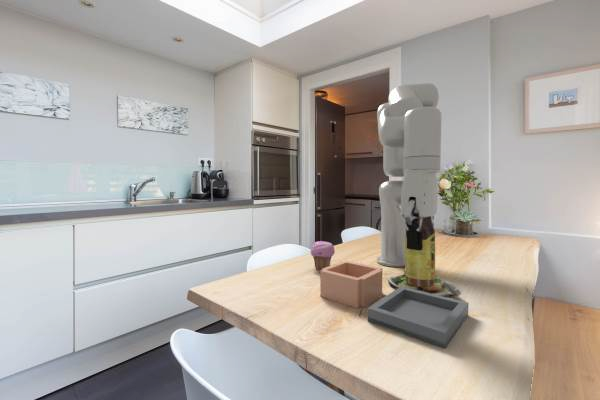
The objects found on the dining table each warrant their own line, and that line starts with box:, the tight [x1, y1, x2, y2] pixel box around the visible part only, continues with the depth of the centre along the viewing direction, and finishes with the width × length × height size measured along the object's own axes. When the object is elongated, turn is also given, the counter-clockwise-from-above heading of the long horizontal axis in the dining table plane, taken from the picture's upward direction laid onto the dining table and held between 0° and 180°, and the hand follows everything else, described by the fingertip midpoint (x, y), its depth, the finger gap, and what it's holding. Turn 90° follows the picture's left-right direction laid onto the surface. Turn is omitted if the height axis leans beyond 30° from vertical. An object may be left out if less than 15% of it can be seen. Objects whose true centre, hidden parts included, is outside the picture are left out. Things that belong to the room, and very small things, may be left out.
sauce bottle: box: [404, 214, 436, 288], centre depth 64 cm, size 7×6×20 cm
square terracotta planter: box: [319, 260, 383, 309], centre depth 79 cm, size 13×13×7 cm
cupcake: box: [310, 240, 336, 271], centre depth 103 cm, size 9×9×10 cm
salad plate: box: [387, 270, 460, 297], centre depth 84 cm, size 19×18×5 cm
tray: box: [367, 286, 469, 349], centre depth 65 cm, size 18×16×3 cm
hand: (420, 245), depth 64 cm, fingers closed on sauce bottle, 6 cm apart
